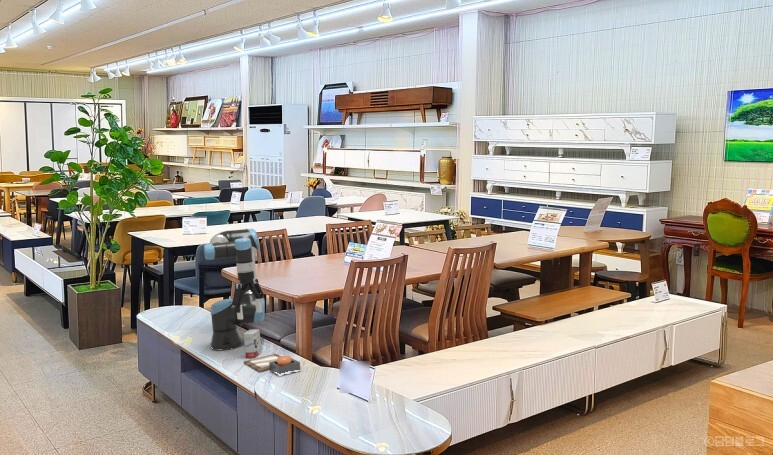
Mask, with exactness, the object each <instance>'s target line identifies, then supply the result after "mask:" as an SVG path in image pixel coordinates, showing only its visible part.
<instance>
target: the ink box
mask: <svg viewBox="0 0 773 455" xmlns="http://www.w3.org/2000/svg"><path fill="white" fill-rule="evenodd" d="M243 339H244V340H243V342H244V352H245V358H246V359H256V358H258V356H259V355H261V354H262V345H261V344H262V343H261V333H260V329H258V328H257V329H253V328H250V329H248V330H247V331H246V332H244V333H243Z"/></svg>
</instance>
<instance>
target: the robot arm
mask: <svg viewBox="0 0 773 455" xmlns="http://www.w3.org/2000/svg"><path fill="white" fill-rule="evenodd" d="M259 249H260V243H259V238H258V234H257V231H256V229H254V228H245V229H234V230H232V229H231V230H225V231H220V232H218V233H216V234H214V235H213V236H212V237H211V239H210V240H209V243H206V244H204V246H203V254H204V258H205V259H204V260H207V261H209V260H210V261H211V260H212V261H213V260H218V259H228V258H235V261H236V271H237V280H238V281H239V283H236V284H234V285H235V286H234V292H233V293H234V294H233V297H232V298H225V299H221V300H218V301H215V302H213V303H212V304H211V305H210V315H211V324H212V335H211V336H212V337H211V342H210V348H211V347H212V348H213V349H229V350H232V349H231V348H233V349H236V348H235V347H237V348H239V347H241V346H242V345H241V344H243V343H242V339H241V337H240V335H239V332H238V329H237V326H238V325H244V324H252V323H253V324H255V323H260V322H263V321H264V319H265V313H266V312H265V310H266V309H265V308H266V306H265V304H266V302H265V298H264V296H265V294H264V292H263V289H262V288H261V284H259V279H258V278H257V269H256V268H257V267H256V260H255V259H256V258H255V255H256V254H257V253H258V252H257V251H259ZM240 345H241V346H240ZM238 346H239V347H238ZM213 349H212V350H213Z"/></svg>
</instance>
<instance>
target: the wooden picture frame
mask: <svg viewBox="0 0 773 455" xmlns="http://www.w3.org/2000/svg"><path fill="white" fill-rule="evenodd" d="M281 356H282V355H279V354H277V353H272V354H269V355H268V354H267V355H265V356H261V357H256V358H251V359H248V360H244V361H243V364H244V365H246V366H247V367H249V368H251V369H252V370H255V371H256V372H258V373H262V372H267V371H270V367H269V362H273V361H277V358H278V357H281Z"/></svg>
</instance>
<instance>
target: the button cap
mask: <svg viewBox="0 0 773 455" xmlns="http://www.w3.org/2000/svg"><path fill="white" fill-rule="evenodd" d="M280 356H281V357H278V358H277V364H278V365H280V366H282V365H286V364H290V363H291V358H292V356H291V355H280Z"/></svg>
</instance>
